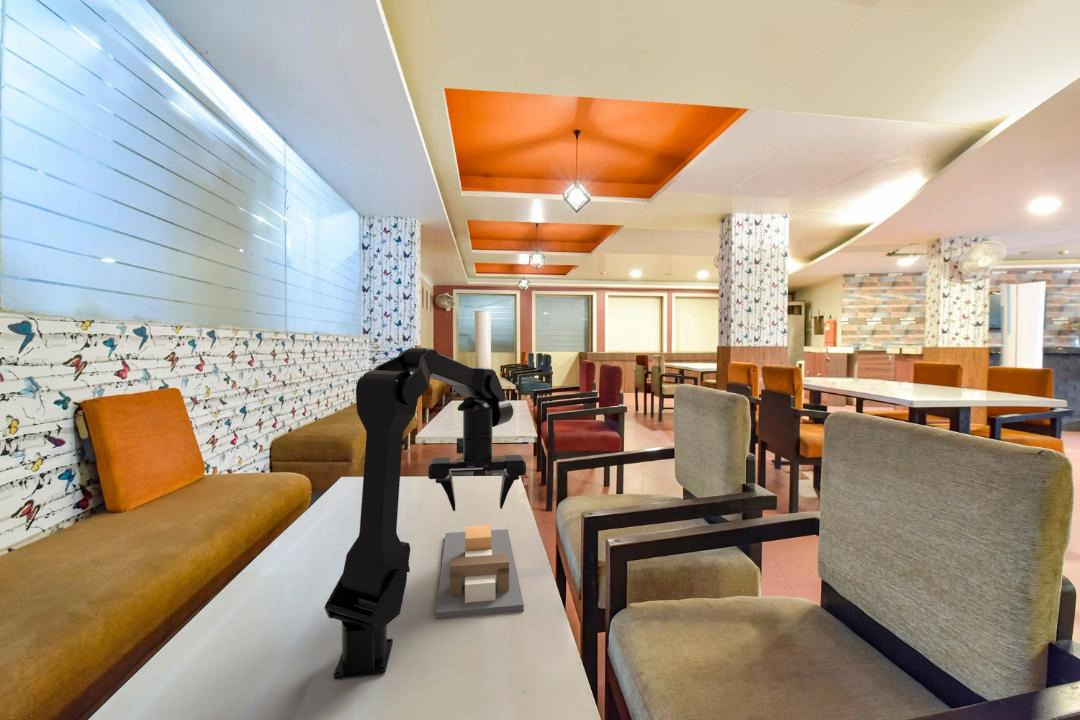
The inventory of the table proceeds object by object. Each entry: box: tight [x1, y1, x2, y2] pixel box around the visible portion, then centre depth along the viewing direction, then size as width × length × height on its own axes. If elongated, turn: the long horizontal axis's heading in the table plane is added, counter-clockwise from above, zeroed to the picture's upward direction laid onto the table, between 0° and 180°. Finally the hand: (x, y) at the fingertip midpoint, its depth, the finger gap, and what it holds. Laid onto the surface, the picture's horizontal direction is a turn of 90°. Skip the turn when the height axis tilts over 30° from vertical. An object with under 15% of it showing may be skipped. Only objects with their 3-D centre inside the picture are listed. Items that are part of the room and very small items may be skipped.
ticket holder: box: [435, 528, 525, 620], centre depth 86 cm, size 30×14×6 cm, turn 9°
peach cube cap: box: [465, 524, 492, 551], centre depth 88 cm, size 6×5×5 cm
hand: (477, 509), depth 88 cm, fingers open, 9 cm apart
